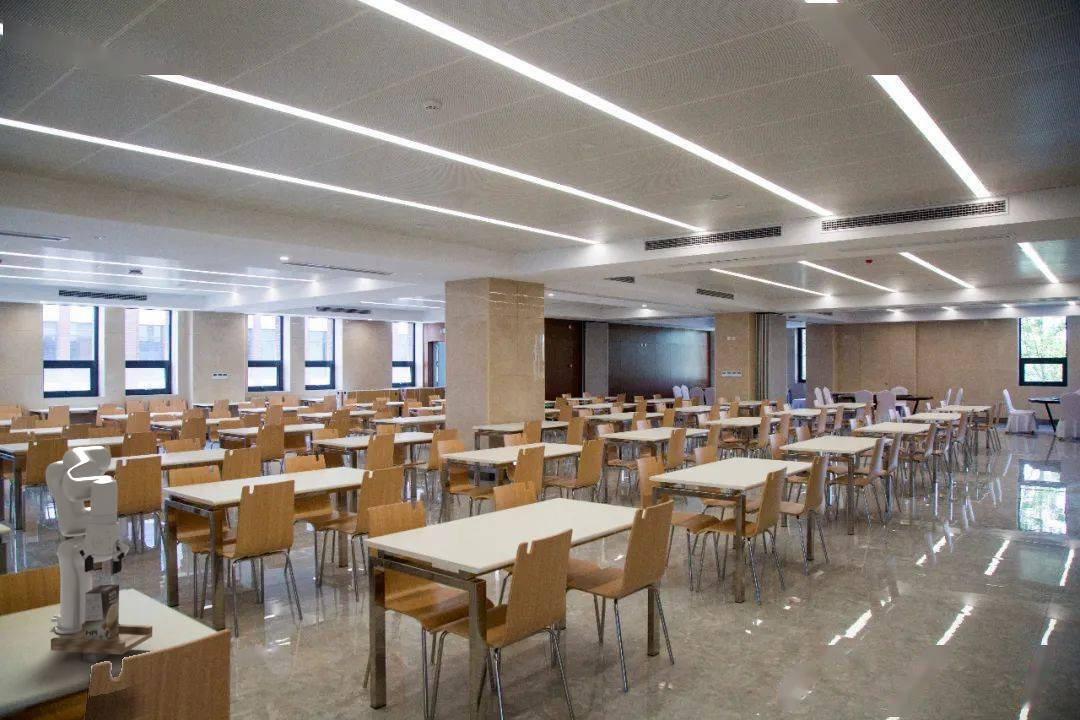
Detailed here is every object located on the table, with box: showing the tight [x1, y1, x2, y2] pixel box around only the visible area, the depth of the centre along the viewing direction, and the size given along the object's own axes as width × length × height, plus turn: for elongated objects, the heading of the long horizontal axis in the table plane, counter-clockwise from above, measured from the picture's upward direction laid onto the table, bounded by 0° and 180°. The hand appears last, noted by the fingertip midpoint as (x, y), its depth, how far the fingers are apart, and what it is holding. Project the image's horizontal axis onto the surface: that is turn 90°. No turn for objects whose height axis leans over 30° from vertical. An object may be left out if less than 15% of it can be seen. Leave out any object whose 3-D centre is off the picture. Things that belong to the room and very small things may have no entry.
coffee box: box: [85, 584, 120, 640], centre depth 240 cm, size 9×6×16 cm
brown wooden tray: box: [50, 623, 153, 663], centre depth 240 cm, size 24×15×7 cm, turn 84°
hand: (103, 571), depth 240 cm, fingers open, 9 cm apart
